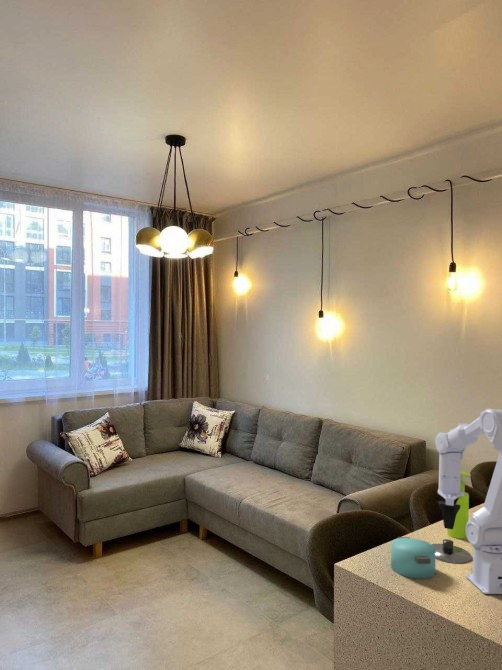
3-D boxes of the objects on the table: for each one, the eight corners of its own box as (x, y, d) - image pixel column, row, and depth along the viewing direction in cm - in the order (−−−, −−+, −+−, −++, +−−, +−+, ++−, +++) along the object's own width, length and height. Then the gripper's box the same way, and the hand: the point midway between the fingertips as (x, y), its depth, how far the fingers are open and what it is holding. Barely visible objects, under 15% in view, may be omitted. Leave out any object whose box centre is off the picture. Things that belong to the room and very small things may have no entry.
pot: (445, 582, 124) (445, 557, 124) (401, 581, 123) (402, 557, 124) (422, 557, 138) (423, 536, 138) (383, 557, 138) (383, 535, 138)
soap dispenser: (460, 541, 152) (461, 474, 152) (443, 533, 158) (444, 469, 159) (474, 538, 154) (476, 473, 155) (457, 531, 160) (459, 468, 161)
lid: (479, 564, 136) (479, 550, 136) (436, 564, 135) (436, 549, 135) (458, 547, 148) (458, 533, 148) (418, 546, 147) (419, 533, 147)
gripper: (466, 483, 134) (465, 535, 134) (463, 471, 148) (462, 518, 147) (438, 480, 136) (436, 530, 136) (438, 468, 150) (436, 514, 150)
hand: (448, 524), depth 142 cm, fingers open, 7 cm apart
